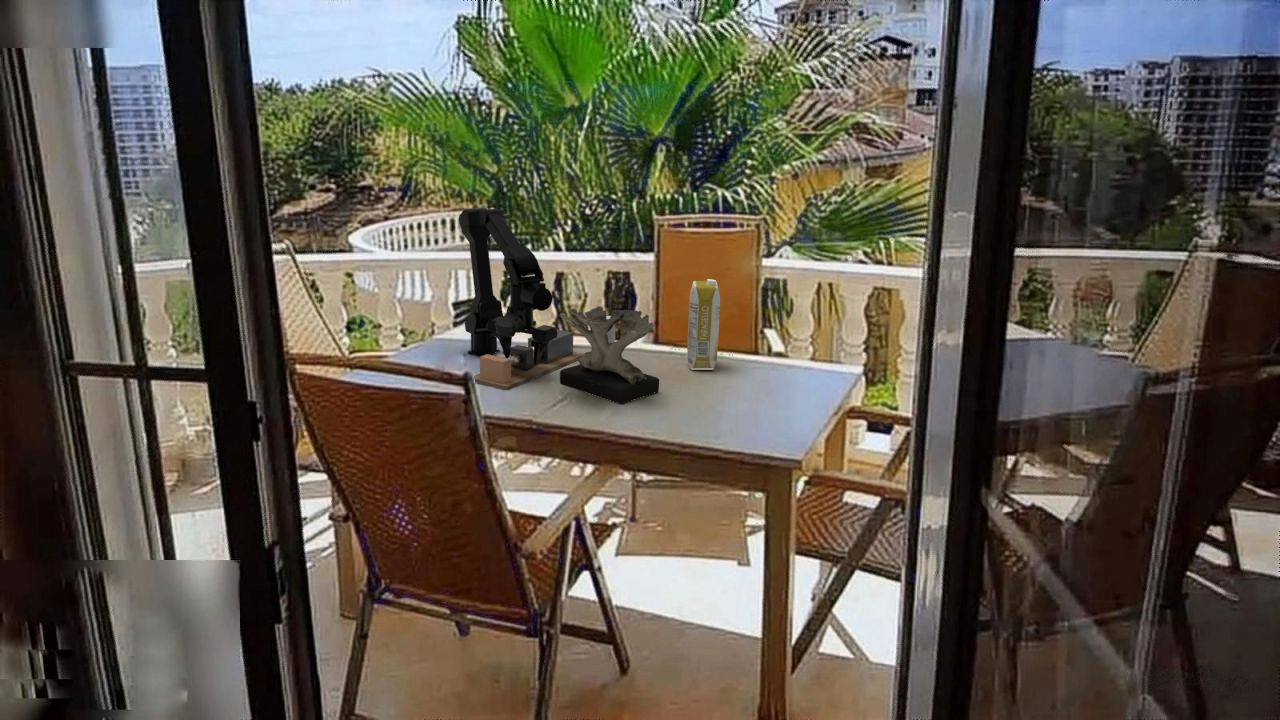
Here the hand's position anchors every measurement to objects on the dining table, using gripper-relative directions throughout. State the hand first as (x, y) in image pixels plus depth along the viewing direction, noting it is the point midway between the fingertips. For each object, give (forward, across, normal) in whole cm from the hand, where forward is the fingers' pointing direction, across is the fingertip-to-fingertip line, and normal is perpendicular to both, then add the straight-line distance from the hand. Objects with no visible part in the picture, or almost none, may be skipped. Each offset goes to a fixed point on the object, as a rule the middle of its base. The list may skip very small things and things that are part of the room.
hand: (521, 361), depth 264 cm
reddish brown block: (+2, 0, -11) cm, 11 cm away
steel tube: (+2, 0, +6) cm, 7 cm away
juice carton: (+3, +36, +32) cm, 48 cm away
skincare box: (+3, +11, +22) cm, 25 cm away
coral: (+3, +26, -1) cm, 26 cm away
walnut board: (+3, 0, +3) cm, 5 cm away
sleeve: (+3, 0, +13) cm, 13 cm away
